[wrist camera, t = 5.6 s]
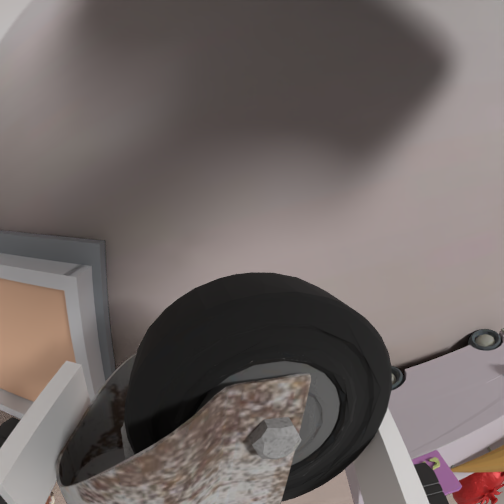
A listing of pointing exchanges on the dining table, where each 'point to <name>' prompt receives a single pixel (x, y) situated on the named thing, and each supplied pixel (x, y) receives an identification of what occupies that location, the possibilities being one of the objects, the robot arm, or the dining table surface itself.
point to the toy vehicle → (451, 412)
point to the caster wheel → (233, 400)
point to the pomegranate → (479, 488)
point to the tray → (51, 314)
